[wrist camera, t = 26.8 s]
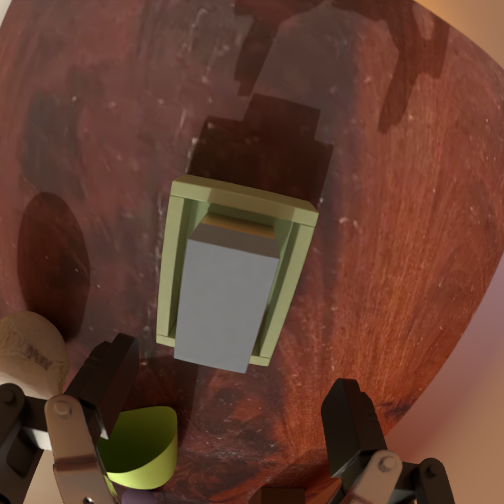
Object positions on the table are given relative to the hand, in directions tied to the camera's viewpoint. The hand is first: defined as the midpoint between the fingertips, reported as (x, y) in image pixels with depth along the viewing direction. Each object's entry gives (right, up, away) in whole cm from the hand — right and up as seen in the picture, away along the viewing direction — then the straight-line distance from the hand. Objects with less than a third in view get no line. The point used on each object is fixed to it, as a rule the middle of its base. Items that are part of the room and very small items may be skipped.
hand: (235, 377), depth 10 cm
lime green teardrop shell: (-13, -17, +17) cm, 27 cm away
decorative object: (-19, -3, +11) cm, 22 cm away
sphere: (-20, -40, +26) cm, 51 cm away
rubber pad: (-1, +3, +5) cm, 6 cm away
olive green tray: (-1, +4, +8) cm, 9 cm away
